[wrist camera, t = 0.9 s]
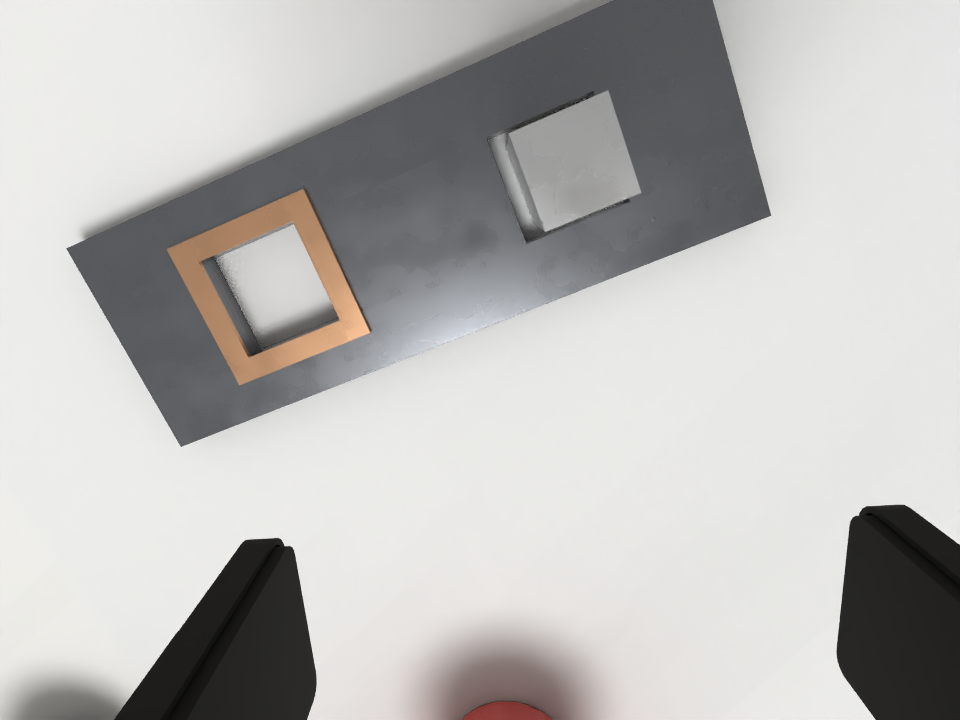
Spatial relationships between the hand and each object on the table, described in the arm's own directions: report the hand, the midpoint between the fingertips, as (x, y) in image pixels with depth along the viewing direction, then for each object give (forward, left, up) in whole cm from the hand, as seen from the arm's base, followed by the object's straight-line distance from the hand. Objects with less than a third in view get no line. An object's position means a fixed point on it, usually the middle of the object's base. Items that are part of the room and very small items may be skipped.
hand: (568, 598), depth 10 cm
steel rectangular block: (-5, -6, -24) cm, 25 cm away
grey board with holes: (+3, -6, -24) cm, 25 cm away
